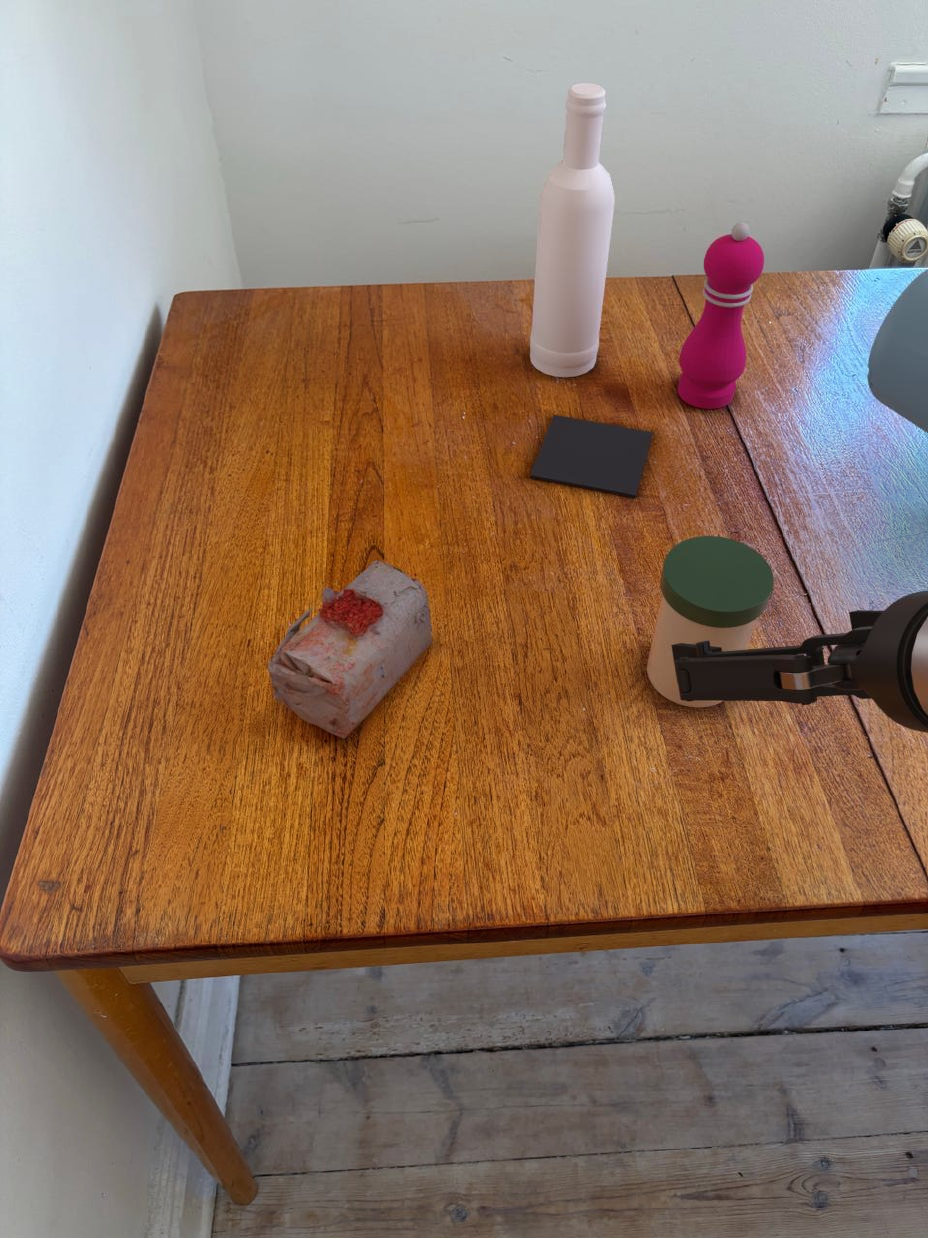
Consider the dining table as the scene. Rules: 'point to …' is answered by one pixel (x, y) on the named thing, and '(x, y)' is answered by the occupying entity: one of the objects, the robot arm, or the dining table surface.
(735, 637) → the jar
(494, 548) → the dining table surface
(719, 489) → the dining table surface
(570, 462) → the mat
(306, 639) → the food item
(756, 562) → the jar lid
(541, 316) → the bottle
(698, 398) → the pepper mill
